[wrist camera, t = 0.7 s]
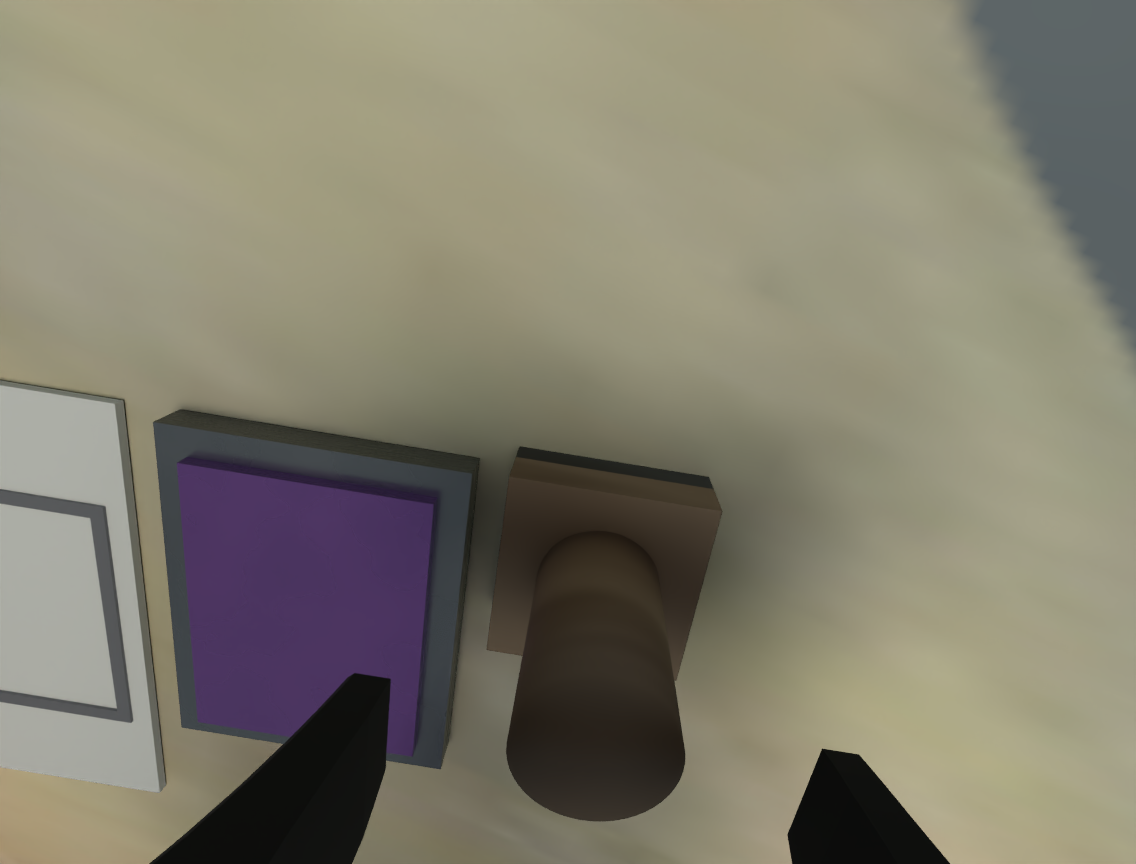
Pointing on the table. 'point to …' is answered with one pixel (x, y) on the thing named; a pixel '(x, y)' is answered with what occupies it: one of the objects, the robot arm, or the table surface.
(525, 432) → the table surface
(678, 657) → the stamp
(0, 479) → the form sheet
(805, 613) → the table surface
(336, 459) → the ink pad
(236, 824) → the robot arm
